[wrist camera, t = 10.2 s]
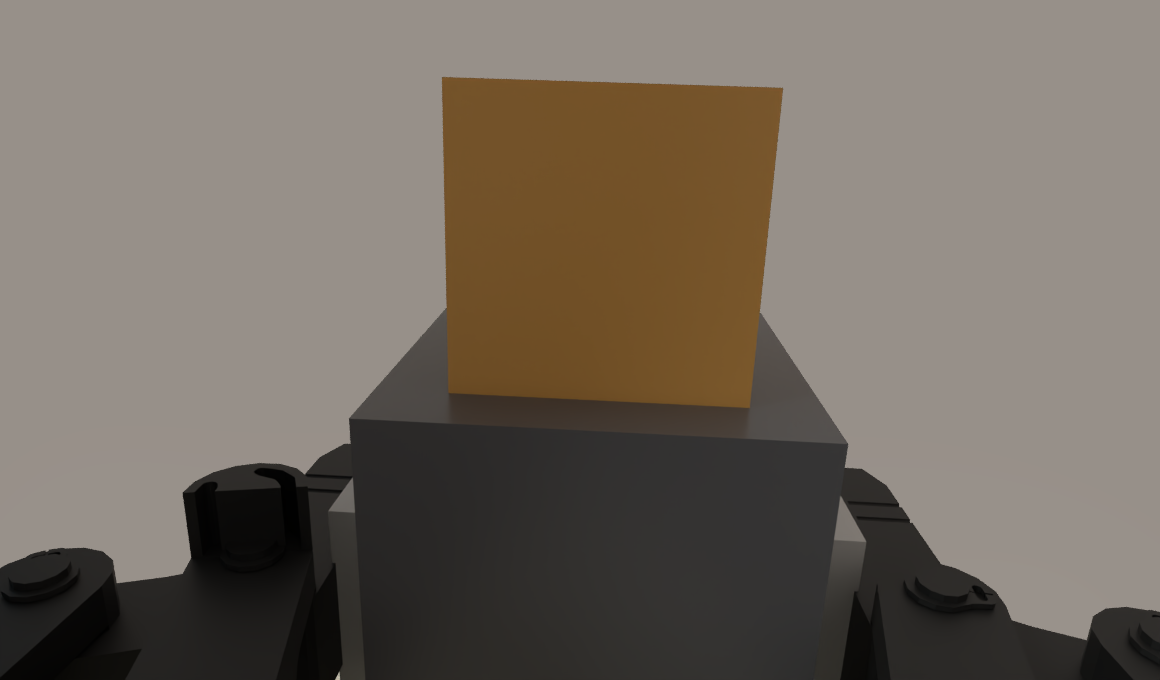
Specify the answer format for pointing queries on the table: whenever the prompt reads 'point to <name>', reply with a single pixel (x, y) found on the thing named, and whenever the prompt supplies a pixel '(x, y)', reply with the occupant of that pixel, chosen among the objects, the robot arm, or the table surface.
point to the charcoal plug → (598, 406)
